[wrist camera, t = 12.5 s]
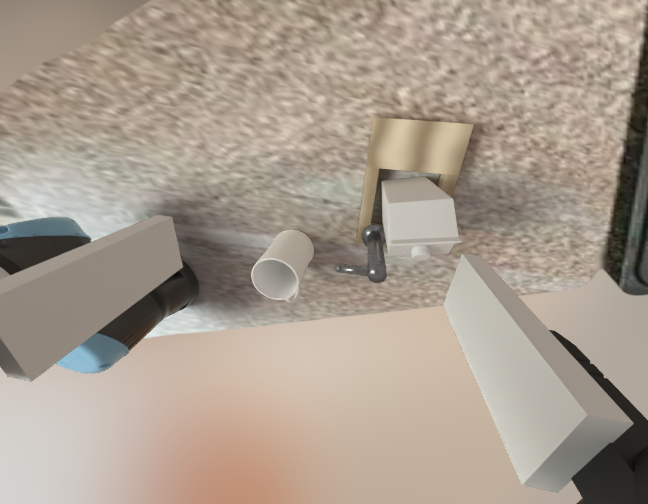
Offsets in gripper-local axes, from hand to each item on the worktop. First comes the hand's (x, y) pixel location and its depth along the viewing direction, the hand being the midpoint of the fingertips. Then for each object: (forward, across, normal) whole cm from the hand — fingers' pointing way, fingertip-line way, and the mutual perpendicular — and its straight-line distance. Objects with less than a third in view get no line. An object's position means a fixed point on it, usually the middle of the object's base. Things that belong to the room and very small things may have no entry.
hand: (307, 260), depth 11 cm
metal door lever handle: (+35, +4, -11) cm, 37 cm away
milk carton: (+35, +10, -5) cm, 36 cm away
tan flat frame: (+34, +10, -3) cm, 36 cm away
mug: (+35, -9, -19) cm, 41 cm away
